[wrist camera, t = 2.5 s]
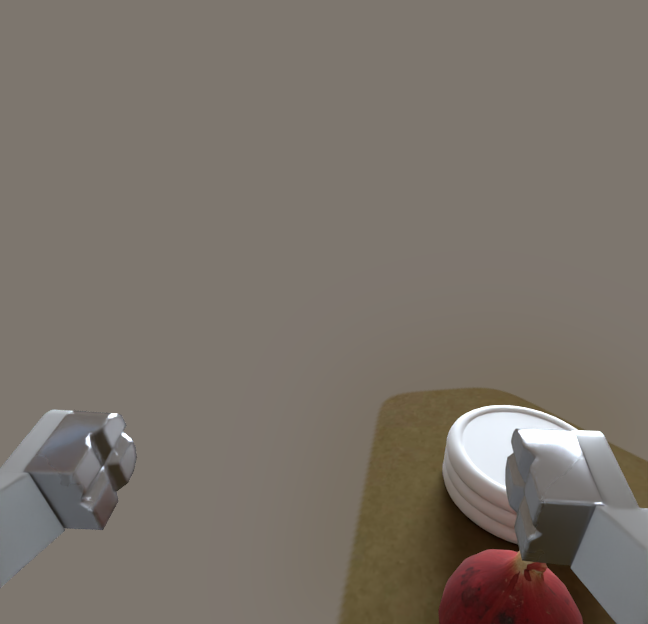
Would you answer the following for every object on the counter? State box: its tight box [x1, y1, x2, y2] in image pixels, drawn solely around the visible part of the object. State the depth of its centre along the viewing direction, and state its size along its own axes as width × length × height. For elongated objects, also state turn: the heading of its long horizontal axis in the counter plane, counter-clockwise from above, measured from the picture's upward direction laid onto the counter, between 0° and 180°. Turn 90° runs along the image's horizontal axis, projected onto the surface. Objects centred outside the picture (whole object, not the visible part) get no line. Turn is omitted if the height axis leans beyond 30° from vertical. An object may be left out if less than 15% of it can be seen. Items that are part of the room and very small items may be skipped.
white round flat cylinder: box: [443, 405, 577, 544], centre depth 32 cm, size 10×10×4 cm
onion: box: [439, 549, 583, 624], centre depth 21 cm, size 6×6×8 cm
